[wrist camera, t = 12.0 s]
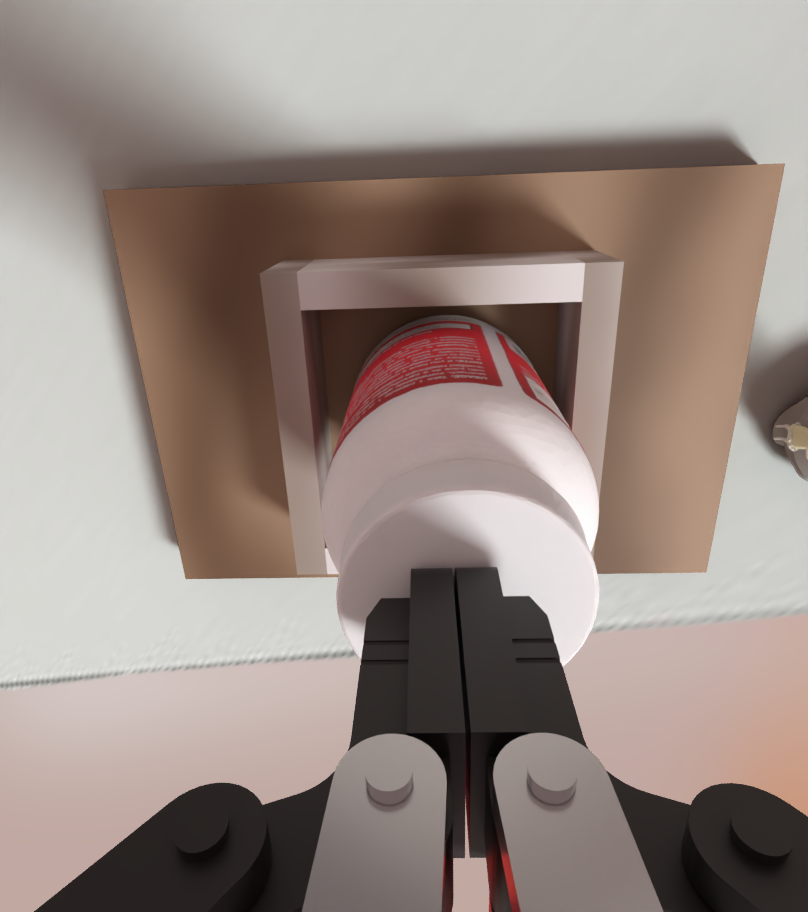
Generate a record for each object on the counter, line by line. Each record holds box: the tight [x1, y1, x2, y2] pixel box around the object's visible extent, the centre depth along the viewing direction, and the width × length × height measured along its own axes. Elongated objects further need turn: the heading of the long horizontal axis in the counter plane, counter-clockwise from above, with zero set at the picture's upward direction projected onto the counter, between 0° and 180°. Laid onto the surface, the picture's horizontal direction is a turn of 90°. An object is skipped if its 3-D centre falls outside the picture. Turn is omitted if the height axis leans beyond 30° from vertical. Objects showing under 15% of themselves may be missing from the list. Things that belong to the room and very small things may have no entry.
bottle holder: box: [103, 164, 785, 579], centre depth 20 cm, size 20×14×4 cm
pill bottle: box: [321, 315, 599, 667], centre depth 16 cm, size 6×6×11 cm
